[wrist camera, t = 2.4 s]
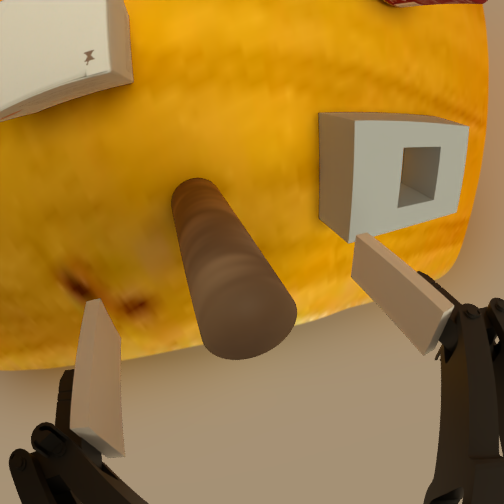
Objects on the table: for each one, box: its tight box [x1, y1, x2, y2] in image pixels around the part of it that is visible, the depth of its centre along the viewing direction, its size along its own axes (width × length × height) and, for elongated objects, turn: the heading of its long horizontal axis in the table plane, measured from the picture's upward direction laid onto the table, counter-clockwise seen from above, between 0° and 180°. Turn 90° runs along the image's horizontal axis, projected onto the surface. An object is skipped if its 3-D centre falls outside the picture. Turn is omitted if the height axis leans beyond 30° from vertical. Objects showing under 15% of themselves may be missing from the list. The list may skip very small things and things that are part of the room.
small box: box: [0, 0, 134, 122], centre depth 10 cm, size 8×6×10 cm
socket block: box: [319, 112, 469, 243], centre depth 24 cm, size 16×10×5 cm, turn 96°
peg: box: [171, 178, 297, 360], centre depth 17 cm, size 4×4×14 cm
